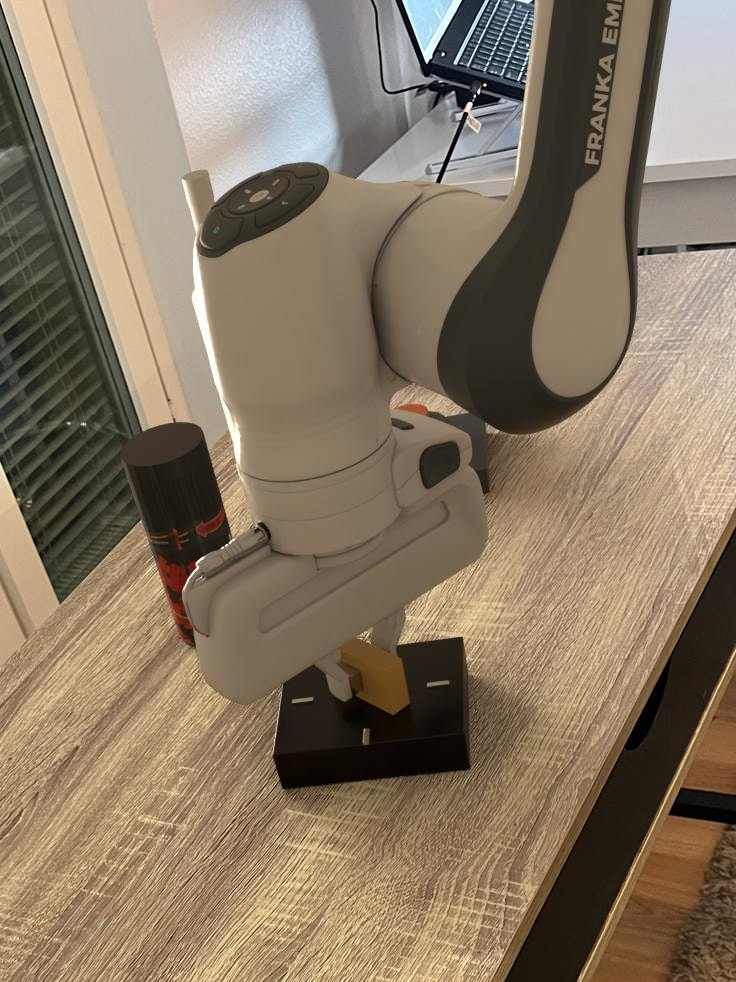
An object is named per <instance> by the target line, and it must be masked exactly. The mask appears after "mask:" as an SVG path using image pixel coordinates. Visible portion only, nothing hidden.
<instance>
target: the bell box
mask: <svg viewBox="0 0 736 982" xmlns="http://www.w3.org/2000/svg"><path fill="white" fill-rule="evenodd" d="M428 411H429V417H430V418H433V419H436V420H439V421H442V422H444V423H446V424H449V425H451V426H453V427H455V428H458V429H460V430H462V431H464V432H465V433H467V434H468V435H469V436H470V438H471V444H472V458H471V461H470V463H469V465H468V466H470V467H471V468H473V469H474V471H475V472H476V473H477V475H478V478H479V480H480V484H481V487H482V492H483V495H484V494H489V493H490V492H491V491H490V490H491V489H490V473H489V472H490V471H489V469H490V467H489V449H488V448H489V447H488V430H487V423H485V422H484V421H482V420H481V419H479V418H477V417H476V416H474V415H473V414H471V413H469V412H465V413H458V414H453V415H447V416H446V415H444V414H442V413H440V412H439V411H432V410H428Z"/></svg>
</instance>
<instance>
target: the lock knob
mask: <svg viewBox="0 0 736 982" xmlns="http://www.w3.org/2000/svg"><path fill="white" fill-rule="evenodd" d="M369 643H370V642H367V641H365V640H362V639H361V638H358V637H355V638H354V639H352V640H351V641H349V642H348V643H346V644H344V645H343V646H341V647H340V651H341V656H342V657H341V659H340V660H338V661H337V662H336V661H334V662H335V664H337V663H339V662H341V661H342V662H344V663H346V664H348V665H349V666H350V667H355V668H357V669H358V670H360V673H361V677H362V680H361V683H362V684H363V687H364V689H363V691H361V692H360V693H358V694H357V695H355V696H357V697H359V698H361V699H363V700H364V701H366V702H368V703H370V704H372V705H374V706H376V707H378V708H380V709H382V710H384V711H386V712H388V713H390V714H391V715H395V714H396V713H398V712H399V711H400V710H402V709H403V708H404V707H406V706H407V705H408V704H410V700H409V695H408V690H407V684H406V679H405V674H404V669H403V664H402V659H401V658H399V657H396V656H394V655H392V654H390V653H388V652H386V651H384V650H382V649H380V648H377V647H375V646H373V645H371V644H369Z"/></svg>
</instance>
